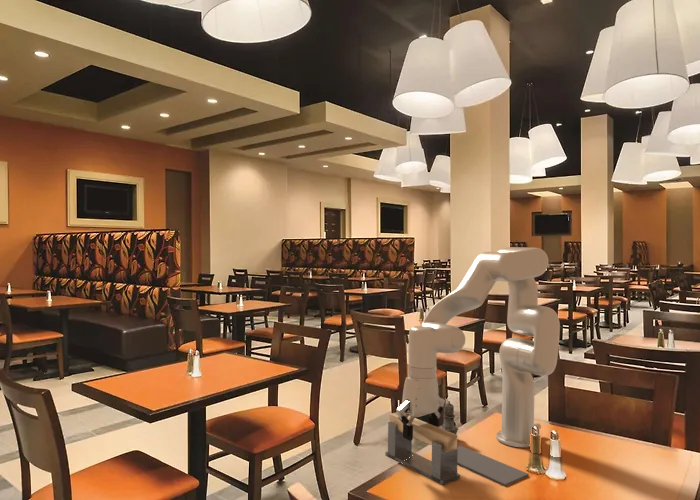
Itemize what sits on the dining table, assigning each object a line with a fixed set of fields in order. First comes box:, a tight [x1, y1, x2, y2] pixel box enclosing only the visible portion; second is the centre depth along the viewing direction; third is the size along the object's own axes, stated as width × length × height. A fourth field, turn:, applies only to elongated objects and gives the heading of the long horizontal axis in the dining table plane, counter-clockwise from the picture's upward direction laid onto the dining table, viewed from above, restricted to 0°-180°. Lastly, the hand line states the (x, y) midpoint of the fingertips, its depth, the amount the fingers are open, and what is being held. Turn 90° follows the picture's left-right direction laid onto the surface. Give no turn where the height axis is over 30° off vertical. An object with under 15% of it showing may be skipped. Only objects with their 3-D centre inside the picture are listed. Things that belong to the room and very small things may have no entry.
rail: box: [389, 412, 458, 452], centre depth 136 cm, size 4×22×4 cm, turn 37°
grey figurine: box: [438, 400, 459, 435], centre depth 156 cm, size 6×6×12 cm
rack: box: [384, 421, 461, 486], centre depth 136 cm, size 6×22×10 cm, turn 37°
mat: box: [457, 445, 530, 487], centre depth 138 cm, size 10×23×1 cm, turn 37°
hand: (420, 435), depth 136 cm, fingers open, 9 cm apart
